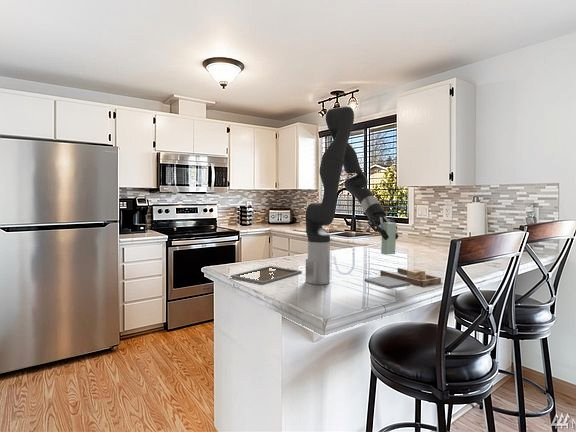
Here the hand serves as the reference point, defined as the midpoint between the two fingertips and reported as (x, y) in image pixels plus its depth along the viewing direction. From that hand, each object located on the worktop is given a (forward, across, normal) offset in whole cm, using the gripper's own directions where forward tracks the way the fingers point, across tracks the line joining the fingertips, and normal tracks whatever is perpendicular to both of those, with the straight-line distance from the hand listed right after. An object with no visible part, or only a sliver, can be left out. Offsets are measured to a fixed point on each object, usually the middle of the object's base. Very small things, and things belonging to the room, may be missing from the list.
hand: (391, 238), depth 147 cm
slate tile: (+12, -1, +14) cm, 19 cm away
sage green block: (+3, 0, +6) cm, 7 cm away
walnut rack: (+12, +13, +14) cm, 23 cm away
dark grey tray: (-12, -38, +41) cm, 57 cm away
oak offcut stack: (+15, +13, +12) cm, 23 cm away
